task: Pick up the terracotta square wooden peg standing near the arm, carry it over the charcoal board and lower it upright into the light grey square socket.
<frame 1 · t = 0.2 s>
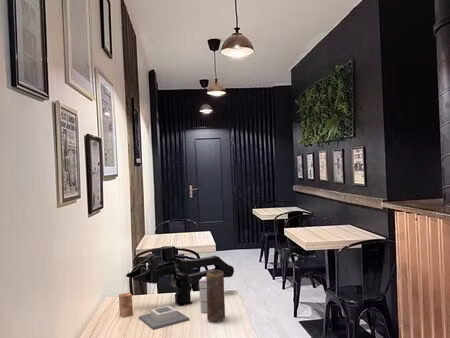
hand: (129, 277, 181), 17 cm above the table, tool horizontal, fingers open, 9 cm apart
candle: (216, 320, 170), on the table
socket: (163, 319, 174), on the table
syrup box: (208, 311, 182), on the table
peg: (126, 315, 181), on the table
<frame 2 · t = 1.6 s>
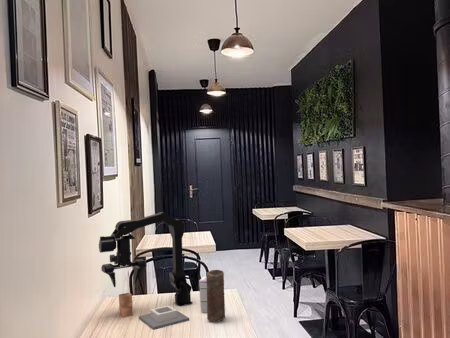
hand: (124, 285, 181), 13 cm above the table, tool pointing down, fingers open, 9 cm apart
nothing on the table moved.
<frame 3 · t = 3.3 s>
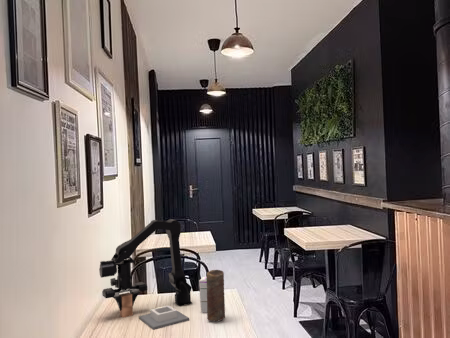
hand: (126, 309, 181), 3 cm above the table, tool pointing down, fingers closed on peg, 4 cm apart
peg: (126, 315, 181), on the table, touching gripper
everything else where it was.
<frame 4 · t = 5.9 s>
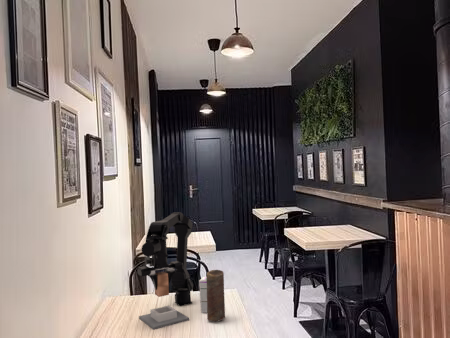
hand: (161, 288, 174), 13 cm above the table, tool pointing down, fingers closed on peg, 4 cm apart
peg: (161, 294, 174), point 10 cm above the table, touching gripper
everything else where it was.
when the fingers open (5 cm above the table, at t = 8.9 s): peg drops 1 cm, resting on socket.
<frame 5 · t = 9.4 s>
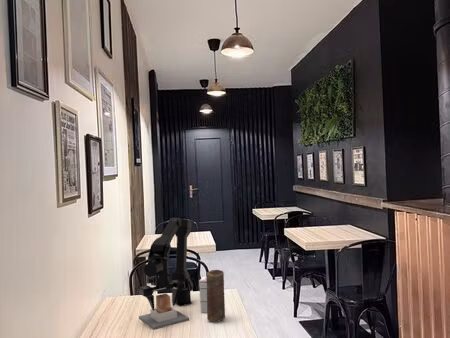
hand: (163, 308, 174), 5 cm above the table, tool pointing down, fingers open, 9 cm apart
peg: (163, 317, 174), point 1 cm above the table, touching socket
everything else where it was.
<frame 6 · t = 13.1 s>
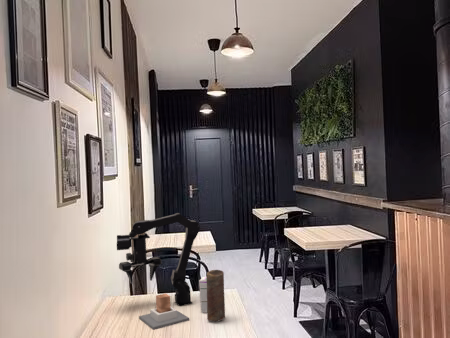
hand: (141, 282, 190), 12 cm above the table, tool pointing down, fingers open, 9 cm apart
nothing on the table moved.
at the end: peg 0.0 cm off-centre on the socket, point 1.0 cm above the socket's base; peg tilted 0°; the gripper is holding nothing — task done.
